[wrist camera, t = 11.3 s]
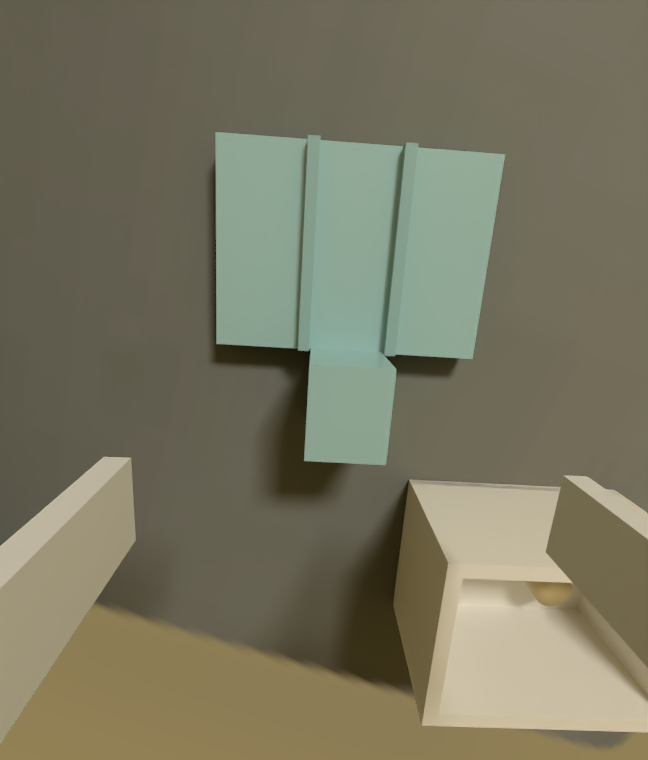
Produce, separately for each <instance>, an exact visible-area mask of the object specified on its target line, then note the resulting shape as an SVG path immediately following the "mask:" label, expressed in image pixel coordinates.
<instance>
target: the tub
mask: <svg viewBox="0 0 648 760" xmlns="http://www.w3.org/2000/svg"><path fill="white" fill-rule="evenodd" d="M560 488H561V487H549V486H529V485H510V484H490V483H470V482H451V481H431V480H411V479H409V484H408V492H407V500H406V507H405V515H404V523H403V531H402V538H401V546H400V554H399V562H398V569H397V577H396V585H395V593H394V600H393V607H394V611H395V615H396V619H397V624H398V628H399V632H400V636H401V641H402V645H403V649H404V653H405V657H406V662H407V666H408V670H409V674H410V679H411V683H412V687H413V691H414V696H415V700H416V704H417V708H418V712H419V716H420V721H421V725H422V726H424V725H425V726H455V727H487V728H521V729H554V730H587V731H621V732H648V668H647V666H646V665H645V664H644V663H643V662H642V661H641V660H640V658H639V657H638V656H637V655H636V654H635V653H634V652H633V651H632V649H631V648H630V647H629V646H628V645H627V644H626V643H625V641H624V640H623V639H622V638H621V637H620V636H619V635H618V634H617V632H616V631H615V630H614V629H613V628H612V627H611V626H610V624H609V623H608V622H607V621H606V620H605V619H604V618H603V617H602V615H601V614H600V613H599V612H598V611H597V610H596V609H595V607H594V606H593V605H592V604H591V603H590V602H589V601H588V600H587V598H586V597H585V596H584V595H583V594H582V593H581V592H580V590H579V589H578V588H577V587H576V586H575V585H574V584H573V583H572V581H571V580H570V579H569V578H568V577H567V576H566V575H565V573H564V572H563V571H562V570H561V569H560V568H559V567H558V566H557V564H556V563H555V562H554V561H553V560H552V559H551V558H550V556H549V555H548V554H547V553H546V548H547V544H548V539H549V535H550V531H551V526H552V522H553V518H554V514H555V509H556V505H557V501H558V496H559V492H560ZM606 490H607V491H609V492H610V493H611V494H613V495H614V496H616V497H617V498H619V499H620V500H622V501H623V502H624V503H626V504H627V505H629V506H630V507H632V508H633V509H634V510H636V511H637V512H639V513H640V514H642V515H643V516H645V517H646V518H647V519H648V513H647V512H645V511H644V510H642V509H641V508H640V507H638V506H637V505H635V504H634V503H632V502H631V501H630V500H628V499H627V498H625V497H624V496H622V495H621V494H620V493H618V492H617V491H615V490H608V489H606Z"/></svg>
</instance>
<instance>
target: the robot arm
mask: <svg viewBox="0 0 648 760" xmlns="http://www.w3.org/2000/svg"><path fill="white" fill-rule="evenodd" d="M135 540H136V536H135V519H134V502H133V485H132V467H131V458H121V457H103V458H102V459H101V460H100V461H99V462H97V463H96V464H95V465H94V466H93V467H92V468H90V469H89V470H88V471H87V472H86V473H85V474H83V475H82V476H81V477H80V478H79V479H78V480H76V481H75V482H74V483H73V484H72V485H71V486H70V487H68V488H67V489H66V490H65V491H64V492H63V493H61V494H60V495H59V496H58V497H57V498H56V499H54V500H53V501H52V502H51V503H50V504H49V505H47V506H46V507H45V508H44V509H43V510H42V511H41V512H39V513H38V514H37V515H36V516H35V517H34V518H32V519H31V520H30V521H29V522H28V523H27V524H25V525H24V526H23V527H22V528H21V529H20V530H18V531H17V532H16V533H15V534H14V535H13V536H12V537H10V538H9V539H8V540H7V541H6V542H5V543H3V544H2V545H1V546H0V744H1V742H2V741H3V739H4V738H5V736H6V735H7V733H8V732H9V730H10V729H11V727H12V726H13V724H14V723H15V721H16V719H17V718H18V717H19V715H20V714H21V712H22V711H23V709H24V708H25V706H26V705H27V703H28V702H29V700H30V699H31V697H32V696H33V694H34V693H35V691H36V690H37V688H38V687H39V685H40V684H41V682H42V681H43V679H44V678H45V676H46V675H47V673H48V672H49V670H50V668H51V667H52V665H53V664H54V662H55V661H56V659H57V658H58V656H59V655H60V653H61V652H62V650H63V649H64V647H65V646H66V644H67V643H68V641H69V640H70V638H71V637H72V635H73V634H74V632H75V631H76V629H77V628H78V626H79V625H80V623H81V622H82V620H83V618H84V617H85V616H86V614H87V613H88V611H89V610H90V608H91V607H92V605H93V604H94V602H95V601H96V599H97V598H98V596H99V595H100V593H101V592H102V590H103V589H104V587H105V586H106V584H107V583H108V581H109V580H110V578H111V577H112V575H113V574H114V572H115V571H116V569H117V567H118V566H119V564H120V563H121V561H122V560H123V558H124V557H125V555H126V554H127V552H128V551H129V549H130V548H131V546H132V545H133V543H134V542H135ZM546 553H547V554H548V555H549V556H550V558H551V559H552V560H553V561H554V562H555V563H556V564H557V566H558V567H559V568H560V569H561V570H562V571H563V572H564V573H565V575H566V576H567V577H568V578H569V579H570V580H571V581H572V583H573V584H574V585H575V586H576V587H577V588H578V589H579V590H580V592H581V593H582V594H583V595H584V596H585V597H586V598H587V600H588V601H589V602H590V603H591V604H592V605H593V606H594V607H595V609H596V610H597V611H598V612H599V613H600V614H601V615H602V617H603V618H604V619H605V620H606V621H607V622H608V623H609V624H610V626H611V627H612V628H613V629H614V630H615V631H616V632H617V634H618V635H619V636H620V637H621V638H622V639H623V640H624V641H625V643H626V644H627V645H628V646H629V647H630V648H631V649H632V651H633V652H634V653H635V654H636V655H637V656H638V657H639V658H640V660H641V661H642V662H643V663H644V664H645V665H646V666H647V668H648V519H647V518H646V517H645V516H643V515H642V514H640V513H639V512H637V511H636V510H634V509H633V508H632V507H630V506H629V505H627V504H626V503H624V502H623V501H622V500H620V499H619V498H617V497H616V496H614V495H613V494H611V493H610V492H609V491H607V490H606V489H604V488H603V487H601V486H600V485H599V484H597V483H596V482H594V481H593V480H591V479H590V478H588V477H587V476H564V475H563V479H562V483H561V488H560V492H559V496H558V501H557V505H556V509H555V514H554V518H553V522H552V526H551V531H550V535H549V539H548V544H547V548H546Z"/></svg>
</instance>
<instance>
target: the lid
mask: <svg viewBox="0 0 648 760" xmlns="http://www.w3.org/2000/svg"><path fill="white" fill-rule="evenodd" d="M504 158H505V154H494V153H481V152H468V151H455V150H442V149H429V148H418V143H406V144H405V145H404V147H403V146H390V145H377V144H364V143H351V142H338V141H325V140H320V136H316V135H308V139H299V138H286V137H273V136H260V135H247V134H234V133H221V132H216V344H227V345H244V346H261V347H278V348H295V349H298V351H309V349H311V351H310V363H309V380H308V398H307V416H306V435H305V453H304V461H313V462H333V463H353V464H373V465H386V460H387V451H388V442H389V433H390V424H391V415H392V407H393V398H394V389H395V380H396V371H397V369H396V368H395V367H394V366H393V365H392V364H391V362H390V361H389V360H388V359H387V358H386V357H385V356H395V354H396V355H413V356H430V357H447V358H464V359H473V352H474V346H475V340H476V334H477V327H478V321H479V315H480V309H481V302H482V296H483V290H484V283H485V277H486V271H487V265H488V258H489V252H490V246H491V239H492V233H493V227H494V221H495V214H496V208H497V202H498V195H499V189H500V183H501V177H502V170H503V164H504Z"/></svg>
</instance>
